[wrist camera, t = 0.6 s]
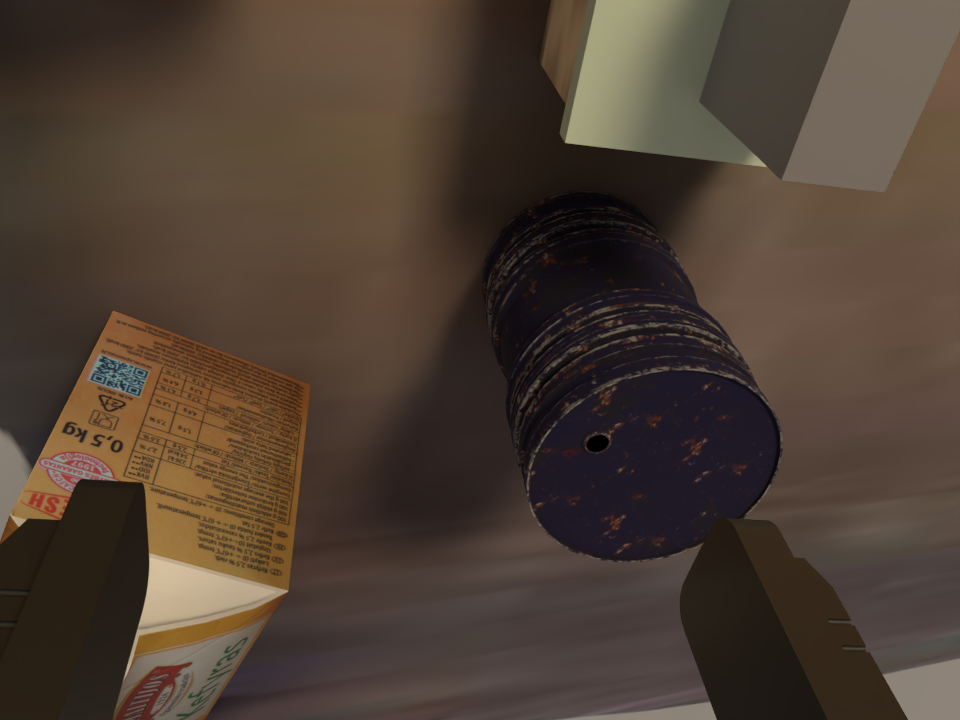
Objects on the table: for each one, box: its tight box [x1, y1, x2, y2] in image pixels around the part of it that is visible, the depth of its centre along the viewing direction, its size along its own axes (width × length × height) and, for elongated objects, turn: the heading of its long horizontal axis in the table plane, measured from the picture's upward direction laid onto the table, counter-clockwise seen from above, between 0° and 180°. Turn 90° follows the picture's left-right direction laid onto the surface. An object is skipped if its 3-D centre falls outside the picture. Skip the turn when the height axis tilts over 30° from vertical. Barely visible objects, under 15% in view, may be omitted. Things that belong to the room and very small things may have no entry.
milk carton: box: [0, 311, 310, 720], centre depth 37 cm, size 11×11×19 cm
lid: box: [560, 0, 960, 192], centre depth 24 cm, size 12×12×9 cm
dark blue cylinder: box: [482, 191, 783, 562], centre depth 36 cm, size 10×10×15 cm
